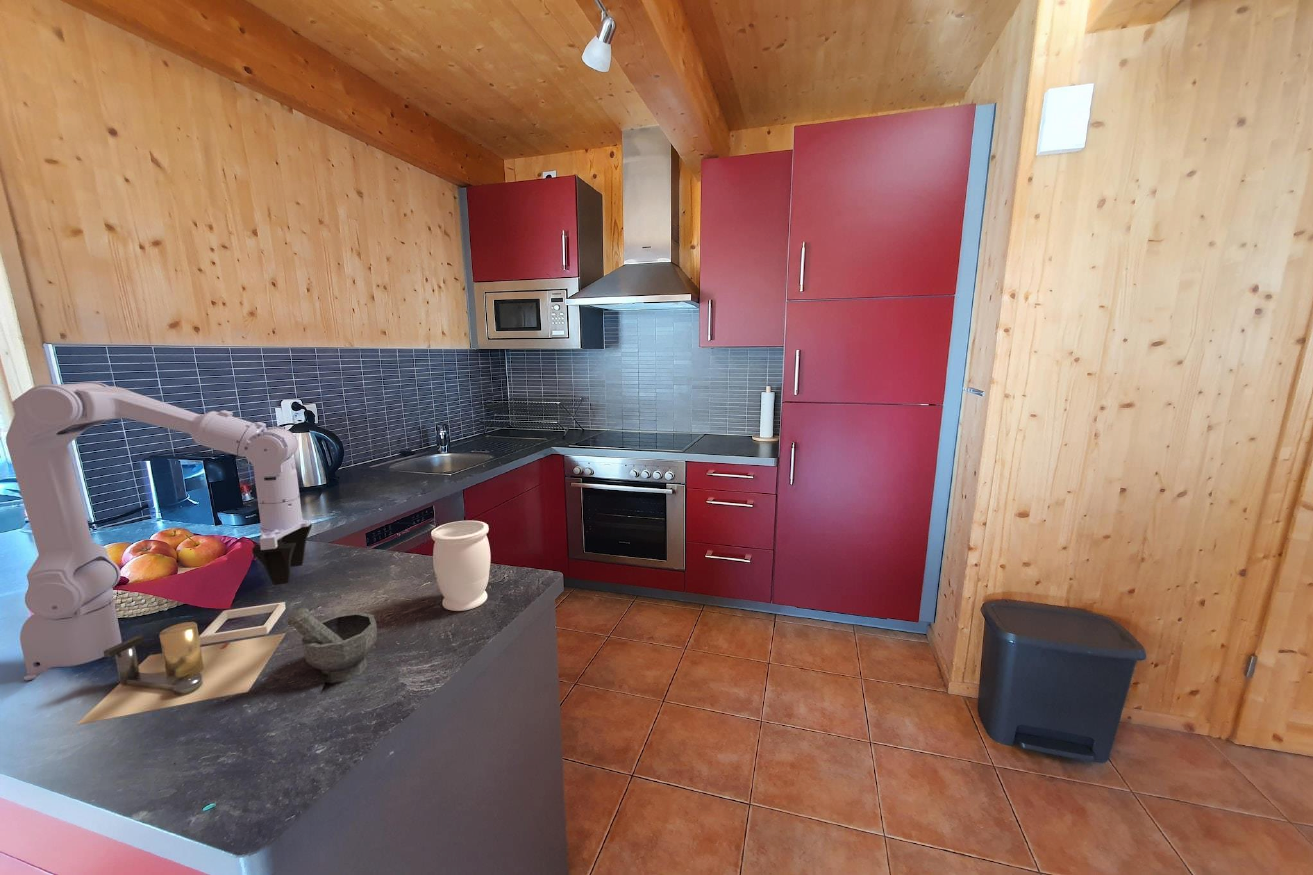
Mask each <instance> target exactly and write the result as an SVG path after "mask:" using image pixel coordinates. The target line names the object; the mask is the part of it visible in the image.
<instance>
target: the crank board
mask: <svg viewBox="0 0 1313 875" xmlns="http://www.w3.org/2000/svg"><path fill="white" fill-rule="evenodd" d="M286 634H287V633H286V632H284V633H279V634H272V635H266V636H259V637H254V638H249V639H242V640H237V641H236V640H235V641H230V642H225V643H224V642H223V643H216V644H212V645H206V646H200V647H201V653H202V659H203V665H204V668H203V670H202V671H201V672H199V673H200V674H201V675H202V681H203V684H202V685H201V686H200V687H199V688H198V689H196V690H194V691H192V692H189V693H186V694H181V695H176V694H174V691H173V690H168V689H160V688H152V687H144V686H136V685H128V684H127V685H121V684H120V683H118V685H116V686H115V687H114V688H113V689H112V690H111V691H110V692H109V693H108V694H107V695H106V696H105V697H104V698H103V699H102V700H100V701H99V703H98V704H96V705H95V706H94V707H93V708H92V709H91V710H90V711H88V712H87V714H86V715H85V716H83V717H82V718H81V719H80V720H79V721H78V722H77V723H76V724H75V726H79V725H84V724H89V723H95V722H99V721H104V720H110V719H114V718H120V717H121V718H122V717H125V716H130V715H137V714H140V713H145V712H146V713H147V712H151V711H156V710H161V709H166V708H171V707H176V706H181V705H187V704H193V703H197V702H203V701H207V700H212V699H218V698H223V697H227V696H229V697H230V696H233V695H239V694H242V693H248V692H249V691H250V689H251V688H252V686H253V685H254V683H255V682H256V680H257V679H258V677H259V676H260V675H261V673H262V671H263V669H264V668H265V666H266V665H267V663H268V662H269V661H270V659H271V657H272V656H273V654H274V652H275V651H276V649H277V648H278V646H279V645H280V644H281V642H282V640H283V638H284V637H285V636H286ZM138 666H139V672H141V673H149V674H158V675H166V670H165V664H164V659H163V653H156V654H149V655H148V656H147V657H146V658H145V659H144V660H143V661H142V662H141V663H140V664H138Z"/></svg>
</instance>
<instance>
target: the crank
mask: <svg viewBox="0 0 1313 875" xmlns="http://www.w3.org/2000/svg"><path fill="white" fill-rule="evenodd" d="M142 642H144V636H143V635H135V636H132V637H131V638H129V639H127V640H125V641H122V643H120V644H118V645H116V646H114V647H111V648H109V649H107V650H105V651H103V652H104V658H105V657H106V658H111V657H115V663H116V668H117V673H118V677H119V678H118V679H119V684H121V685H127V684H128V685H136V686H144V687H152V688H160V689H168V690H173V691H174V694H176V695H181V694H186V693H189V692H192V691H194V690H196V689H198V688H199V687H200V686H201V685H202V684H203V681H202V675H201V674H200V673H193V674H189V675H186V676H183V677H174V676H166V675H158V674H149V673H141V672H139V661H138V657H137V651H136V646H137V645H139V644H141V643H142Z"/></svg>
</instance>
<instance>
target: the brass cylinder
mask: <svg viewBox="0 0 1313 875" xmlns="http://www.w3.org/2000/svg"><path fill="white" fill-rule="evenodd" d="M158 635H159V639H160V640H159V642H160V645H161V646H160V647H161V652H162V653H163V659H164V664H165V670H166V676H174V677H183V676H186V675H189V674H193V673H199V672H201V671H202V670H203V668H204V665H203V659H202V653H201V647H202V646H201V645H200V641H199V636H200V634H199V630H198V623H196V622H195V621H189V622H188V621H187V622H182V623H177V624H174V625H170V626H169V627H166V628H164V629H163V630H161V631H160V632H159V634H158ZM162 653H161V654H162Z"/></svg>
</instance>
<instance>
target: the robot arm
mask: <svg viewBox="0 0 1313 875" xmlns="http://www.w3.org/2000/svg"><path fill="white" fill-rule="evenodd" d="M11 405H12V408H13V411H14V416H13V419H12V421H11V422H10V425H9V428H8V431H7V433H6V435H5V442H6V443H5V444H6V447H7V450H8V454H9V458H10V461H11V464H12V468H13V470H14V471H13V472H14V474H15V478H16V481H17V484H18V487H19V492H20V495H21V498H22V501H23V505H24V509H25V512H26V516H27V518H28V522H29V525H30V528H31V532H32V535H33V540H34V544H35V546H36V550H37V553H38V555H37V558H36V559H35V561H34V562H33V563H32V566H31V567H30V569H29V570H28V572H27V574H26V578H27V583H28V587H27V589H26V592H25V594H24V595H25V596H24V604H25V606H26V608H27V610H29V612H31V613H33V614H32V615H31V616H29V617H28V618H27V619H26V620H25V621H24V623H23V624H22V626H21V630H20V632H19V634H20V636H19V641H20V647H21V651H22V655H23V659H24V664H25V669H26V672H27V675H25V676H24V677H23V681H32V680H36V679H38V677H40V676H41V675H42V674H43V673H45V672H46V671H48V670H49V669H50V668H51V669H52V668H59V667H60V668H63V667H67V668H68V667H73V666H78V665H82V664H86V663H87V664H88V663H90V662H93V661H96V660H99V659H102V658H103V657H104V652H103V651H105V650H107V649H109V648H111V647H114V646H116V645H118V644H120V643H122V642H123V640H122V635H121V631H120V626H119V625H120V624H119V620H118V614H117V611H116V610H117V609H116V605H115V599H114V587H115V586H117V584H118V583H119V581H120V579H121V574H122V573H121V568H120V567H119V566H118V564H117V563H116V562H115V561H114V560H112V558H111V557H110V556H109V554H108V550H107V548H106V547H105V546H102V545H100V544H98V543H96V542H95V541H93V538H92V534H91V530H90V526H89V523H88V519H87V516H86V512H85V511H86V510H85V509H84V508H85V507H84V505H83V504H84V503H83V501H82V498H81V494H80V488H79V485H78V482H77V478H76V475H75V472H74V468H73V467H74V466H73V464H72V460H71V457H70V452H69V448H68V446H69V444H71V443H72V442H73V441H75V440H76V439H77V438H78V437H80V436H81V435H82V433H84V432H85V431H86V430H88V429H90V428H93V427H95V426H97V425H100V424H102V423H104V422H107V421H109V420H117V419H129V420H132V421H137V422H140V423H146V424H149V425H153V426H156V427H162V428H165V429H170V430H173V431H177V432H182V433H186V434H189V435H190V437H191V438H192V439H193V441H194V442H195V444H196V445H199V446H200V445H201V446H203V447H206V448H210V449H214V450H217V451H221V452H225V453H228V454H232V455H235V456H238V457H242V458H244V457H245V458H246V460H247V462H249V463H250V464H252V465H253V472H254V482H255V488H256V489H255V490H256V496H257V506H258V511H259V520H260V521H259V522H260V525H261V526H259V531H260V538H259V544H256V545H254V546H253V547H252V549H251V551H252V555H253V556H254V557H255V558H256V559H258V560H259V562H260V564H262V566H263V567H264V569H265V571H266V572H267V574H268V577H269V579H270V581H271V583H272V584H273V586H278V585H284V584H288V583H289V582H290V580H291V568H293V567H300V566H301V567H302V566H303V564H304V560H305V553H306V546H307V545H306V543H307V540H308V538H309V537H308V536H309V534H310V531H311V530H312V527H313V524H312V521H311V519H304V518H303V511H302V505H301V496H300V489H299V479H298V473H297V472H298V471H297V469H296V468H297V467H296V466H297V465H296V458H295V456H294V455H295V453H296V452H297V450H298V448H299V440H298V438H297V437H296V436H295V434H294V433H293V432H292V431H290V430H288V429H286V428H284V427H282V426H272V427H269V428H267V427H266V426H267V424H266V423H264V422H261V421H258V422H256V423H255V422H251V421H248V420H245V419H242V418H239V417H235V416H233V415H234V412H231V411H228V410H224V409H223V410H220V411H215V410H213V411H212V410H211V411H209V412H206V413H203V414H199V413H196V412H193V411H190V410H187V409H185V408H181V407H179V406H175V405H173V404H169V403H166V402H163V401H161V400H158V399H155V398H152V397H149V396H145V395H143V394H140V393H137V392H134V391H131V390H129V389H126V388H124V387H120V386H114V385H112V386H111V385H110V386H109V385H108V384H105V383H102V382H100V381H99V382H97V381H85V382H81V383H80V382H79V383H67V384H66V383H64V384H63V383H62V384H39V385H36V386H33V387H31V388H29V389H28V390H26V391H25V392H24V393H22V394H20V396H18V397H17V398H15V399H14V400H13V401H12V402H11ZM104 658H105V657H104Z"/></svg>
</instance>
